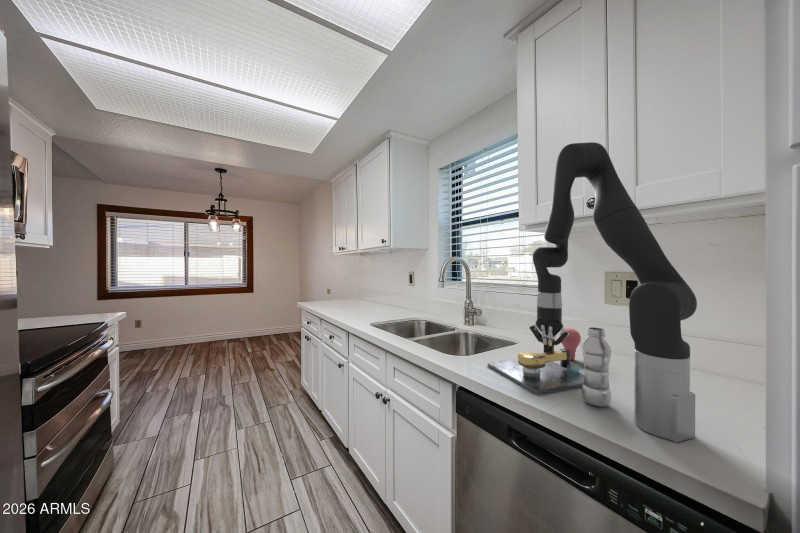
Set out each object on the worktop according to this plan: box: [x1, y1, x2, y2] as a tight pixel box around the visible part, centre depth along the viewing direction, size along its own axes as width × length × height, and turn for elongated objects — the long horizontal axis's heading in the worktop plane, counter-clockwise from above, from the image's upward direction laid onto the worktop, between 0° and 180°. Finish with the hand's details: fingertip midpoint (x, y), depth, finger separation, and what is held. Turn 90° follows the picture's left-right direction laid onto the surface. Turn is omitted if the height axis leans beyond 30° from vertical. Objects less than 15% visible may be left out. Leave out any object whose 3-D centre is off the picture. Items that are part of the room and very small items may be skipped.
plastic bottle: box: [581, 326, 612, 408], centre depth 76 cm, size 6×7×20 cm
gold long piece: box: [517, 348, 572, 368], centre depth 94 cm, size 20×8×6 cm, turn 109°
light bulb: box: [558, 327, 582, 360], centre depth 111 cm, size 7×7×12 cm
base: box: [487, 358, 584, 396], centre depth 97 cm, size 24×23×5 cm
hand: (548, 355), depth 99 cm, fingers closed
